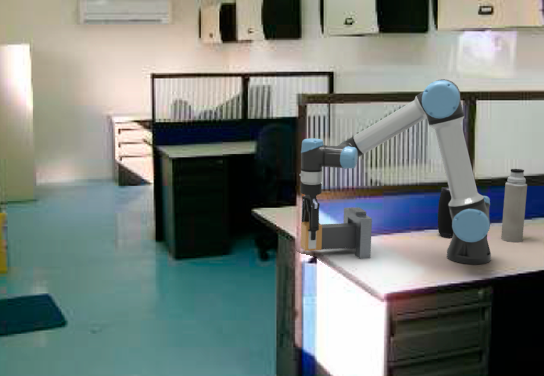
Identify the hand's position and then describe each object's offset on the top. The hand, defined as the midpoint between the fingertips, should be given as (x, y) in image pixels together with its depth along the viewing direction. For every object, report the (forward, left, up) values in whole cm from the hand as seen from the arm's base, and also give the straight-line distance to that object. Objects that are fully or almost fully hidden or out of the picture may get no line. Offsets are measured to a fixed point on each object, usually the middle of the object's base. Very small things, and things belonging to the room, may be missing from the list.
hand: (309, 245), depth 252 cm
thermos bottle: (+4, -84, -3) cm, 85 cm away
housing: (0, -18, -3) cm, 18 cm away
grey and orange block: (0, -8, -1) cm, 8 cm away
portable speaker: (+14, -62, -3) cm, 64 cm away
